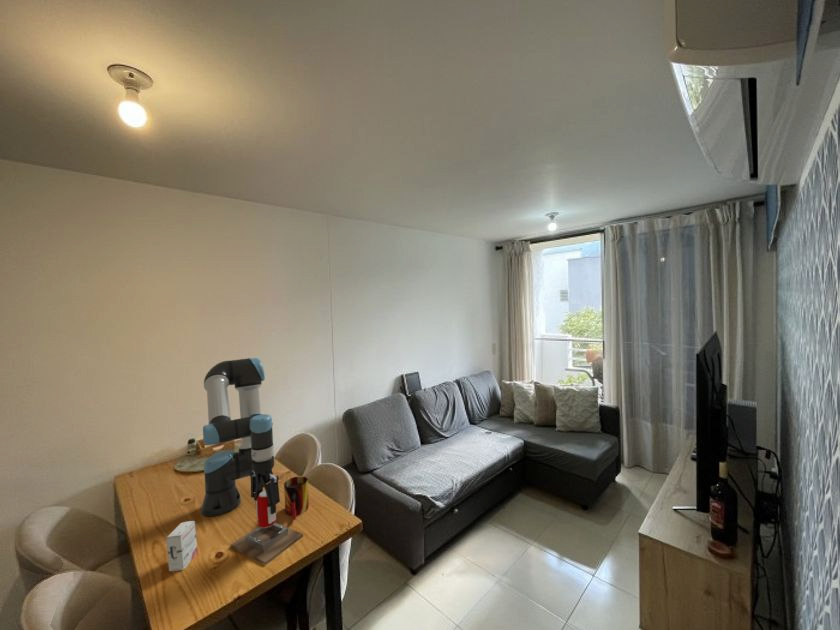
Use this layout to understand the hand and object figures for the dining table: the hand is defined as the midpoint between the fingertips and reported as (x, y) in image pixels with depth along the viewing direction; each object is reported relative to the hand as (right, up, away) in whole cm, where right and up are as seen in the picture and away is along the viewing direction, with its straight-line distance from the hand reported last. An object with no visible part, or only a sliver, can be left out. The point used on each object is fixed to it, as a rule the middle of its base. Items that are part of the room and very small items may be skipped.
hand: (266, 518), depth 125 cm
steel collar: (0, -9, 0) cm, 9 cm away
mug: (+5, -8, +19) cm, 21 cm away
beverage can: (0, -3, 0) cm, 3 cm away
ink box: (-25, -10, -8) cm, 28 cm away
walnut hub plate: (0, -9, 0) cm, 9 cm away
